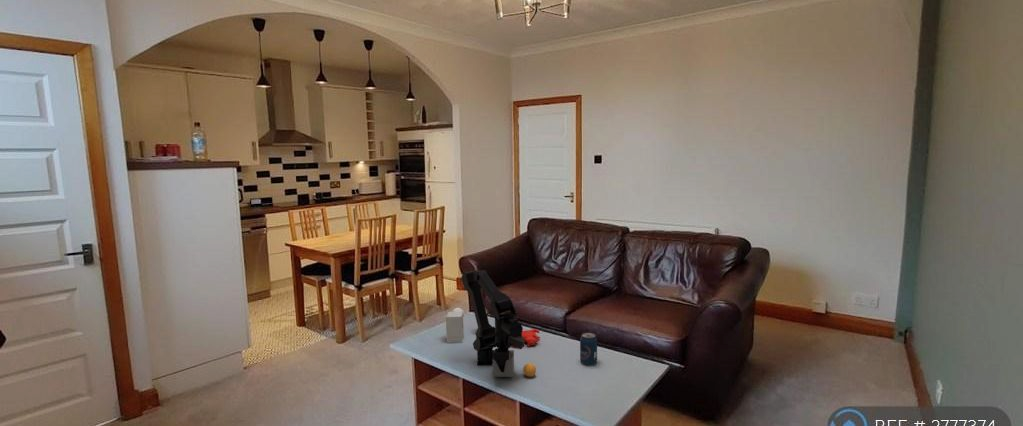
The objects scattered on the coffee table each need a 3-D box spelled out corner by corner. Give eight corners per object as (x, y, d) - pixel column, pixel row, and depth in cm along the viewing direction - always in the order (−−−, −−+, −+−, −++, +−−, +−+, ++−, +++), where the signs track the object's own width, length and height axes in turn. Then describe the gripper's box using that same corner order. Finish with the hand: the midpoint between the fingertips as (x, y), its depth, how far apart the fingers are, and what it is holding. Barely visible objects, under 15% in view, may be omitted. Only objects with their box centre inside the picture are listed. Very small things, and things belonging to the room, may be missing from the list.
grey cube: (493, 376, 186) (492, 358, 185) (495, 367, 194) (494, 350, 193) (512, 376, 186) (512, 358, 185) (514, 367, 193) (513, 350, 192)
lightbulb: (459, 332, 235) (458, 310, 233) (449, 330, 238) (448, 308, 237) (467, 328, 240) (466, 307, 239) (457, 326, 244) (456, 305, 242)
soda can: (576, 363, 199) (576, 335, 198) (586, 357, 204) (586, 330, 203) (591, 368, 195) (590, 339, 193) (600, 362, 200) (600, 334, 198)
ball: (523, 378, 187) (522, 366, 186) (523, 372, 192) (523, 360, 191) (536, 378, 187) (535, 366, 186) (536, 372, 192) (536, 361, 191)
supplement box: (462, 342, 223) (461, 316, 221) (446, 343, 223) (445, 317, 221) (464, 336, 230) (463, 311, 228) (448, 336, 230) (447, 311, 228)
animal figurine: (505, 346, 218) (504, 336, 218) (526, 336, 230) (526, 325, 229) (524, 353, 211) (524, 342, 210) (545, 341, 222) (545, 331, 221)
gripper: (521, 338, 178) (522, 378, 180) (524, 320, 196) (524, 356, 198) (491, 338, 178) (493, 378, 181) (496, 320, 197) (497, 356, 199)
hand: (503, 367), depth 190 cm, fingers closed on grey cube, 8 cm apart
